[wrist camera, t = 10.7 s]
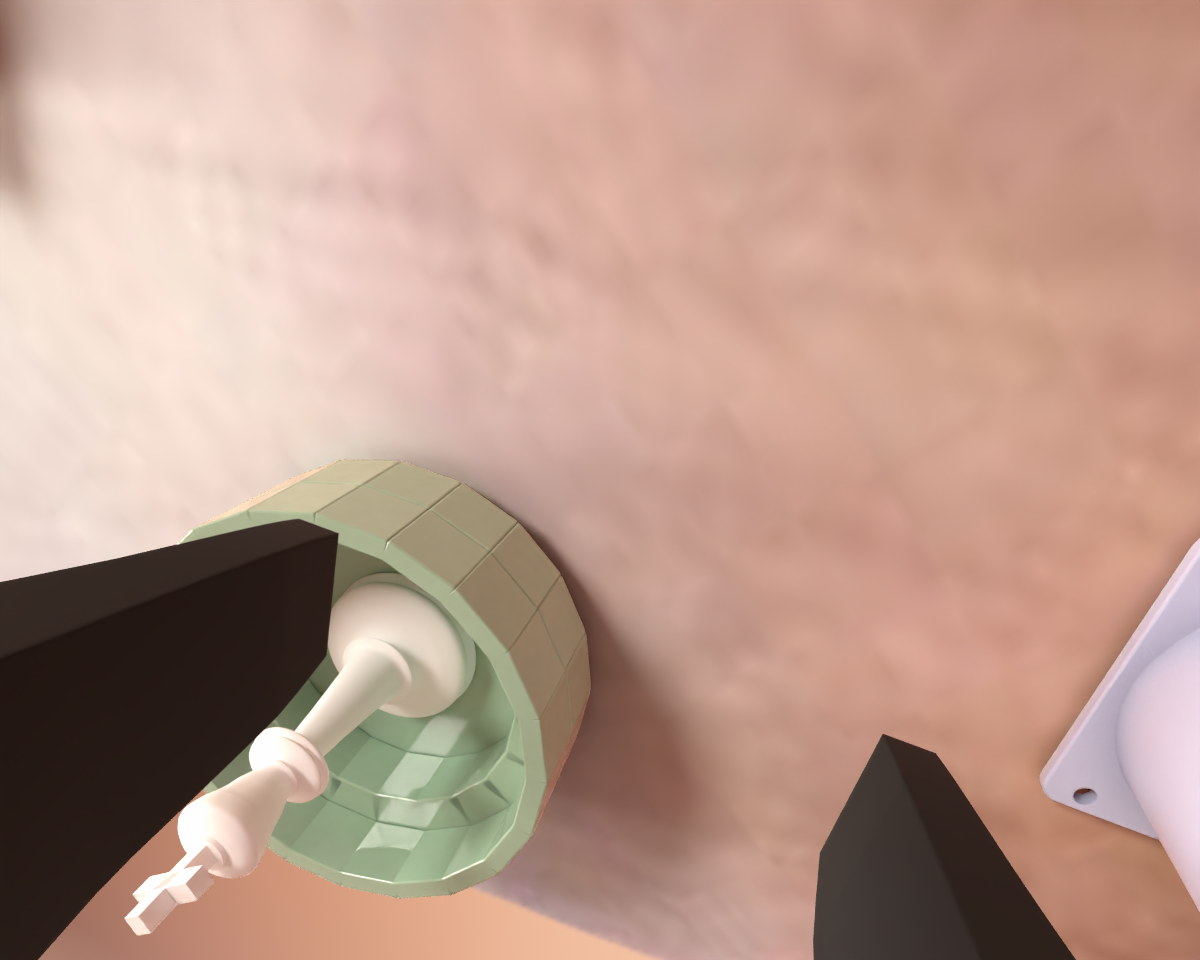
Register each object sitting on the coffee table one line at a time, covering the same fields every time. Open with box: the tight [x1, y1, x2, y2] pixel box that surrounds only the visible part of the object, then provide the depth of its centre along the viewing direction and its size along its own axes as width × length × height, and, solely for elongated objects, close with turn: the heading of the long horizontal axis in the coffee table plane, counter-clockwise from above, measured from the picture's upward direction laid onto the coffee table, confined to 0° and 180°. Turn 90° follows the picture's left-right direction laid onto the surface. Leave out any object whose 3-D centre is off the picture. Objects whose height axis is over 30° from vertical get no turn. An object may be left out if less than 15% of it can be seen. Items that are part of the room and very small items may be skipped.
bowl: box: [178, 459, 591, 898], centre depth 21 cm, size 12×12×4 cm
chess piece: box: [125, 573, 476, 935], centre depth 18 cm, size 5×5×10 cm
